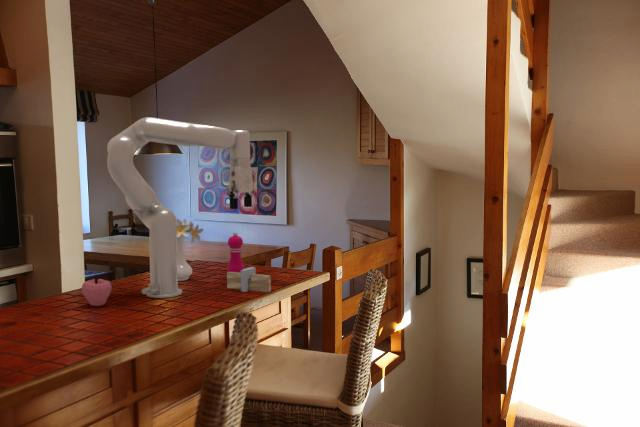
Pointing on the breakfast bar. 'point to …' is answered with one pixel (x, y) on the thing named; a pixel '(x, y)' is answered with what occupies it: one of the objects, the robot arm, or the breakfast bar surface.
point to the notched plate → (246, 277)
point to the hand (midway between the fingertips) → (241, 207)
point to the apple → (96, 291)
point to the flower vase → (183, 230)
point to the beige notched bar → (257, 283)
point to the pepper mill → (235, 254)
